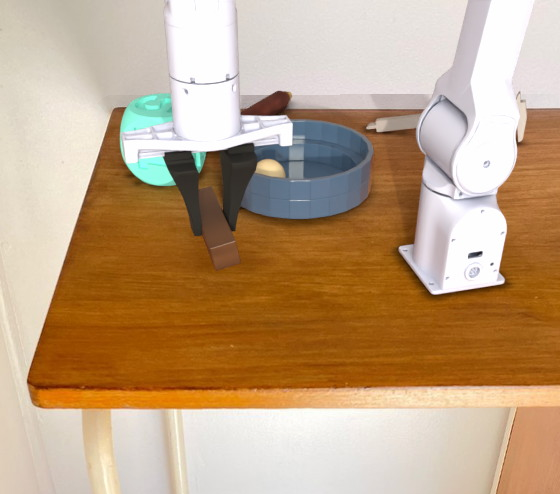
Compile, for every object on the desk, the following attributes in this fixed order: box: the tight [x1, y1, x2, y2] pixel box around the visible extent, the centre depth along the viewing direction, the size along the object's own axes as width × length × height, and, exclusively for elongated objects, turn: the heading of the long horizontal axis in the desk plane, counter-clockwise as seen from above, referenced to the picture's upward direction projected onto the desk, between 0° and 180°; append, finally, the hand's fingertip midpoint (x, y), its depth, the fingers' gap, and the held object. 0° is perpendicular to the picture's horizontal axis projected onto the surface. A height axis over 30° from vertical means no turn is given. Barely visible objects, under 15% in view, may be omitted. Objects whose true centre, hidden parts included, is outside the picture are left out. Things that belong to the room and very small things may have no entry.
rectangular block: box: [199, 185, 242, 272], centre depth 78 cm, size 10×2×2 cm, turn 16°
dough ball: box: [255, 159, 286, 178], centre depth 97 cm, size 4×4×4 cm
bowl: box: [240, 118, 375, 220], centre depth 99 cm, size 17×17×5 cm
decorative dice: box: [119, 92, 207, 187], centre depth 101 cm, size 8×8×8 cm
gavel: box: [240, 90, 293, 116], centre depth 113 cm, size 21×5×10 cm
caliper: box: [365, 90, 528, 143], centre depth 110 cm, size 20×1×6 cm, turn 77°
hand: (213, 229), depth 78 cm, fingers closed on rectangular block, 2 cm apart
